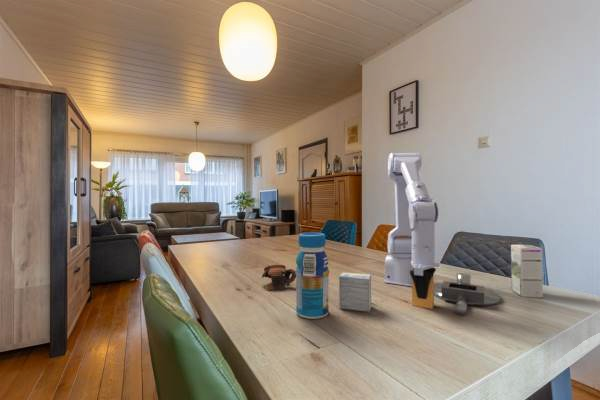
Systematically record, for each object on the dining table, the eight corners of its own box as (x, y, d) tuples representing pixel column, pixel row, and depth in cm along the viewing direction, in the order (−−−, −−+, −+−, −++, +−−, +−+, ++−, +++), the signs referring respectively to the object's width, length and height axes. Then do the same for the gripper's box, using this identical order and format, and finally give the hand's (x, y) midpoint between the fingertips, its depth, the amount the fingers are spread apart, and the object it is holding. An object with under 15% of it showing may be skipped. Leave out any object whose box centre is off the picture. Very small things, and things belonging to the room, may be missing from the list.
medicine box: (371, 306, 77) (371, 274, 77) (369, 312, 73) (369, 278, 72) (342, 303, 79) (342, 271, 79) (339, 309, 75) (338, 276, 75)
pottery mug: (257, 292, 90) (256, 266, 94) (270, 297, 98) (268, 273, 102) (293, 285, 88) (290, 259, 92) (303, 290, 96) (300, 266, 100)
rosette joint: (421, 308, 75) (421, 285, 75) (434, 282, 98) (434, 265, 98) (505, 323, 66) (505, 297, 66) (498, 291, 89) (498, 271, 88)
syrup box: (543, 298, 82) (543, 247, 82) (520, 296, 83) (520, 247, 83) (532, 291, 88) (532, 244, 88) (510, 290, 89) (510, 244, 89)
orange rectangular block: (412, 305, 77) (412, 275, 77) (414, 301, 80) (414, 273, 80) (432, 308, 75) (432, 278, 75) (433, 305, 77) (433, 275, 77)
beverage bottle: (289, 312, 73) (288, 233, 73) (314, 304, 78) (314, 231, 78) (310, 323, 66) (309, 237, 66) (336, 314, 72) (335, 234, 72)
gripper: (436, 251, 69) (436, 307, 69) (442, 243, 81) (442, 291, 82) (405, 248, 73) (405, 302, 73) (415, 241, 85) (415, 287, 85)
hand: (423, 296), depth 77 cm, fingers closed on orange rectangular block, 3 cm apart
